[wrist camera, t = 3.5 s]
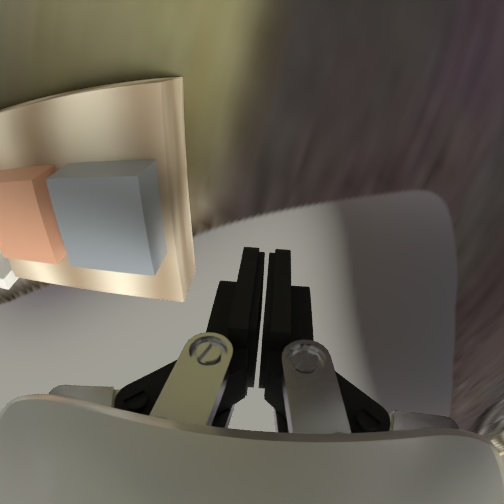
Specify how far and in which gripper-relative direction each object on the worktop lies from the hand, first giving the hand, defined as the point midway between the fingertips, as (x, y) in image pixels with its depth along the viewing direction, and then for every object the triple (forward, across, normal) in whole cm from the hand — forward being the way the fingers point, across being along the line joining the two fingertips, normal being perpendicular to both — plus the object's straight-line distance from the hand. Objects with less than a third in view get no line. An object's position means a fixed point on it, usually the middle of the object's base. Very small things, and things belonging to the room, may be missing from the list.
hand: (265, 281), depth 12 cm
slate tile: (+4, +8, -1) cm, 9 cm away
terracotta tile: (+4, +14, -1) cm, 14 cm away
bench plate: (+7, +12, -1) cm, 14 cm away
